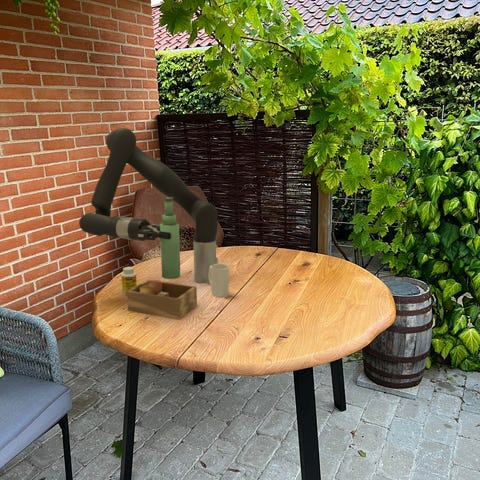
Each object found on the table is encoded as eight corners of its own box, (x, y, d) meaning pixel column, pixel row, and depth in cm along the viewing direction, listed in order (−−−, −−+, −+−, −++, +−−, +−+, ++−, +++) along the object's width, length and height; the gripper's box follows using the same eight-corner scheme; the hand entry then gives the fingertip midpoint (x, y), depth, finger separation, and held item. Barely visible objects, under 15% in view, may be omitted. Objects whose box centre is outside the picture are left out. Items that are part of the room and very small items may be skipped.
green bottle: (176, 271, 153) (174, 195, 146) (183, 277, 147) (181, 198, 140) (159, 274, 150) (156, 196, 143) (165, 280, 145) (162, 199, 138)
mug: (232, 296, 167) (232, 266, 164) (218, 301, 163) (218, 270, 160) (215, 289, 174) (215, 260, 171) (202, 293, 170) (201, 264, 167)
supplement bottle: (125, 296, 167) (123, 271, 164) (120, 292, 171) (118, 267, 169) (139, 293, 170) (137, 268, 167) (134, 289, 174) (132, 265, 172)
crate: (149, 299, 164) (147, 277, 162) (197, 307, 157) (196, 284, 154) (128, 313, 152) (126, 288, 150) (179, 322, 145) (178, 296, 143)
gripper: (119, 222, 142) (164, 227, 136) (144, 214, 155) (186, 218, 149) (120, 244, 144) (165, 250, 138) (145, 234, 157) (186, 239, 151)
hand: (175, 233), depth 144 cm, fingers closed on green bottle, 6 cm apart
